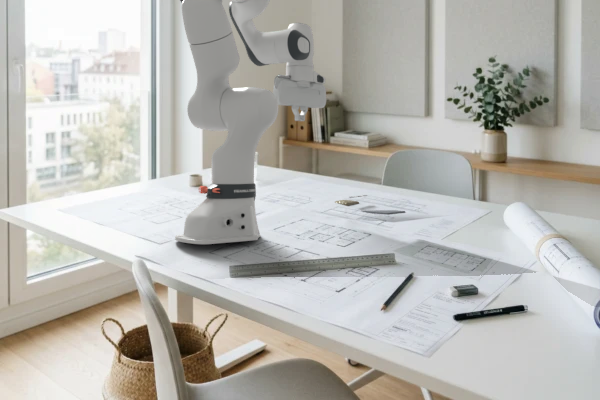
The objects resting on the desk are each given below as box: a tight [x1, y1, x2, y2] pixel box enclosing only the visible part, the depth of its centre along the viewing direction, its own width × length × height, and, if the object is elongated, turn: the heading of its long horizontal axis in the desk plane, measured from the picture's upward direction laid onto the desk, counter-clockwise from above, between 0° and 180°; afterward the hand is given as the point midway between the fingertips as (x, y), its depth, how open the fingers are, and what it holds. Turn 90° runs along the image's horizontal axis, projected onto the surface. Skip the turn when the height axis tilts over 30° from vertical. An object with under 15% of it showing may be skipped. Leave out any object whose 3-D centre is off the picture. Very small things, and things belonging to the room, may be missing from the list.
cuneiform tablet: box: [334, 194, 368, 207], centre depth 198 cm, size 7×4×12 cm
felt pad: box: [362, 209, 406, 215], centre depth 188 cm, size 9×10×1 cm
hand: (299, 120), depth 191 cm, fingers closed
